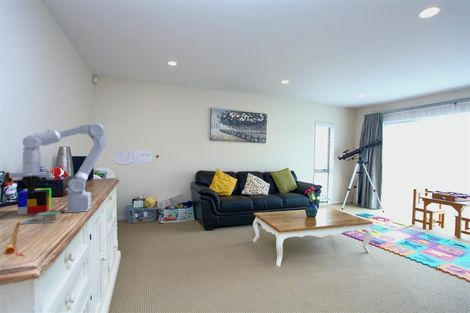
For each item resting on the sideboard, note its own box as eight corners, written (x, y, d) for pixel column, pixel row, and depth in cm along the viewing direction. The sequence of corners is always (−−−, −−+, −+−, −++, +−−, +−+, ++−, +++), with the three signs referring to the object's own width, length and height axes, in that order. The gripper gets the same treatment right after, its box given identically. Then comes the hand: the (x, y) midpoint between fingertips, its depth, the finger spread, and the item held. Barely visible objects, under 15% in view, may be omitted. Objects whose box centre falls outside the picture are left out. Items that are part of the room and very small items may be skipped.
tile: (40, 218, 98) (60, 216, 100) (35, 221, 93) (55, 220, 95) (40, 212, 98) (60, 211, 100) (35, 215, 93) (55, 214, 95)
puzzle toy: (17, 214, 103) (17, 192, 103) (25, 209, 112) (25, 189, 112) (45, 212, 108) (45, 191, 108) (50, 207, 117) (51, 188, 117)
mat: (60, 216, 101) (61, 216, 101) (53, 222, 93) (53, 221, 93) (30, 218, 98) (30, 217, 98) (19, 224, 90) (19, 223, 90)
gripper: (5, 163, 95) (5, 196, 95) (47, 163, 100) (47, 194, 100) (14, 162, 101) (14, 193, 102) (54, 162, 106) (53, 191, 107)
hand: (31, 193), depth 101 cm, fingers closed
